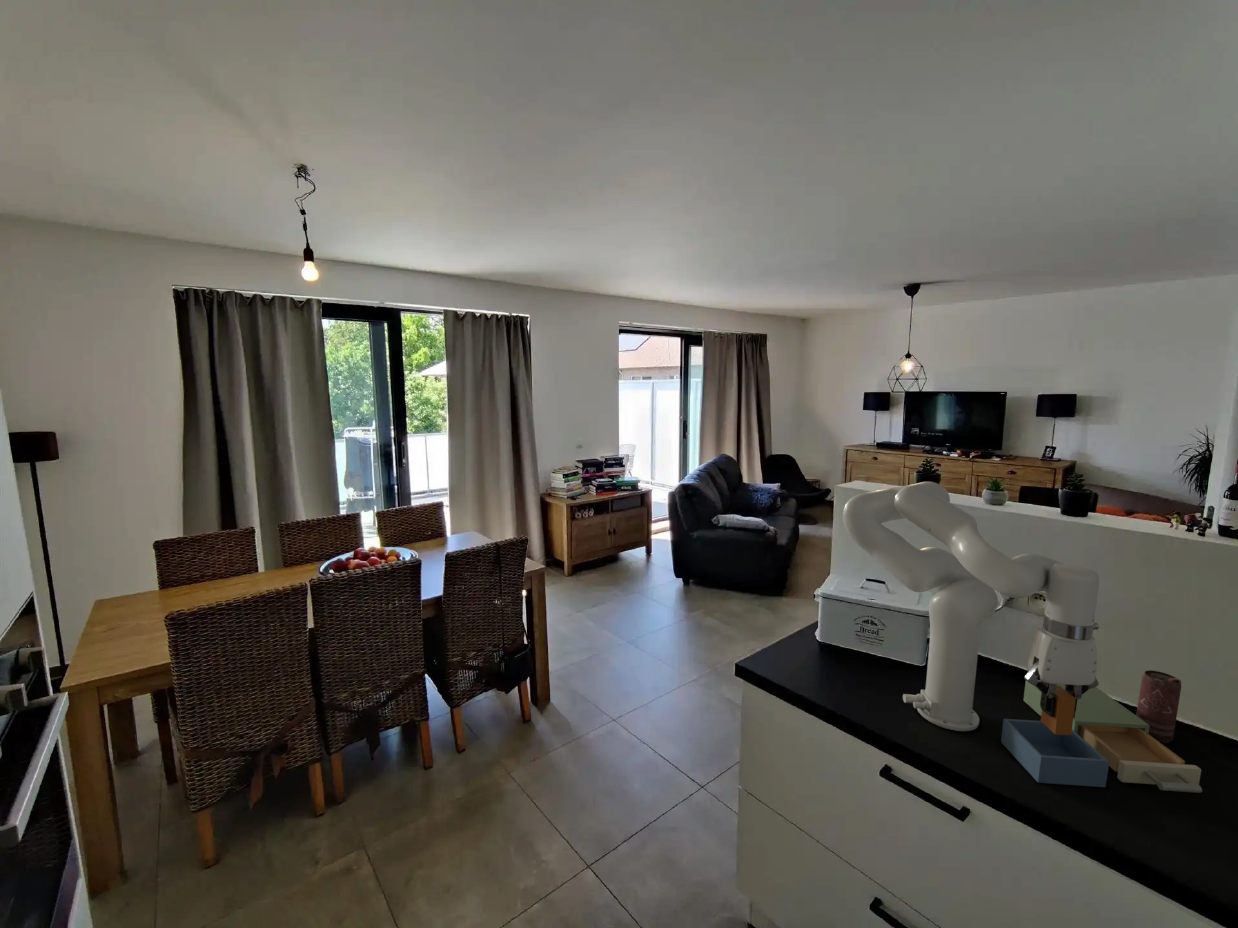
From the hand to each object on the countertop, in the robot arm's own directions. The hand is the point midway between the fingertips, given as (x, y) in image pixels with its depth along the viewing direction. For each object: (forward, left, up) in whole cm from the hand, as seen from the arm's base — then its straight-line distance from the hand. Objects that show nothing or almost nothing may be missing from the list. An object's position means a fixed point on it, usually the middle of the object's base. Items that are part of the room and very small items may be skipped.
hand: (1057, 712), depth 109 cm
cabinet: (+16, +15, -11) cm, 25 cm away
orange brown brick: (0, 0, -3) cm, 3 cm away
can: (+29, +12, -12) cm, 33 cm away
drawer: (+16, 0, -10) cm, 19 cm away
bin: (0, 0, -11) cm, 11 cm away
